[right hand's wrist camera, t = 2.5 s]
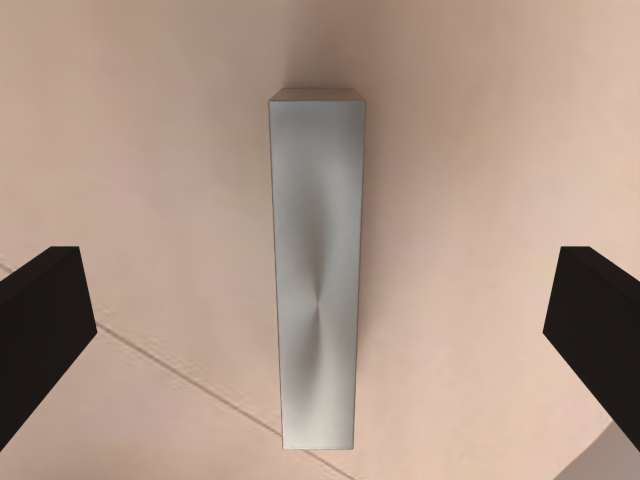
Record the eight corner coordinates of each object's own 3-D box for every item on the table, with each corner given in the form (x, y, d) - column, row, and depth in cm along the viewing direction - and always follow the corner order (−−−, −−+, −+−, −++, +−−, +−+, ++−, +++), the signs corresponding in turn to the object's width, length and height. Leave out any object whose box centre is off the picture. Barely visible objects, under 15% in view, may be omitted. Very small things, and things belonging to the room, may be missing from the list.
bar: (281, 88, 32) (268, 100, 24) (354, 88, 32) (366, 100, 24) (290, 370, 42) (282, 450, 33) (346, 370, 42) (353, 450, 33)
